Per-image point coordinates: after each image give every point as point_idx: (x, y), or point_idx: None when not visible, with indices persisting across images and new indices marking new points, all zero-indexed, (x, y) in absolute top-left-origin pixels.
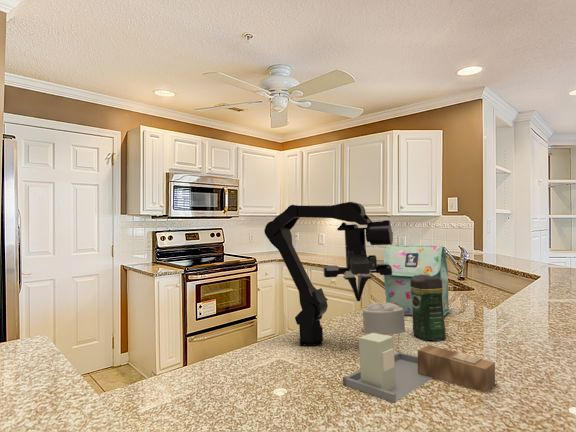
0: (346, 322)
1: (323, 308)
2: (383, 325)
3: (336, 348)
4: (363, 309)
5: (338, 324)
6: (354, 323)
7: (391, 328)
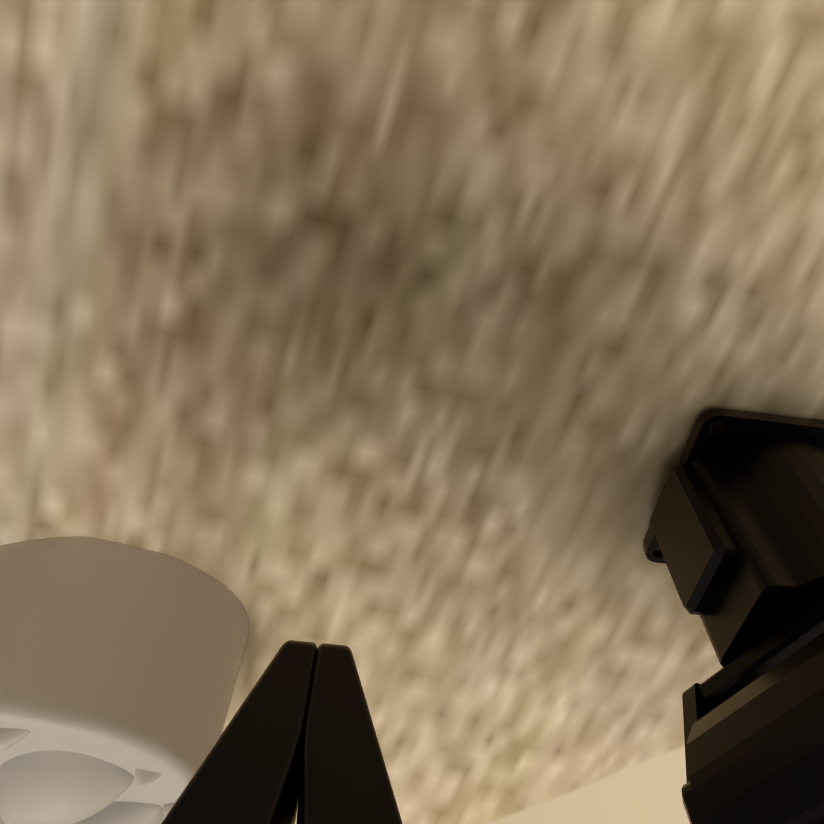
0: None
1: (817, 717)
2: (66, 601)
3: (606, 308)
4: None
5: None
6: None
7: (8, 577)
